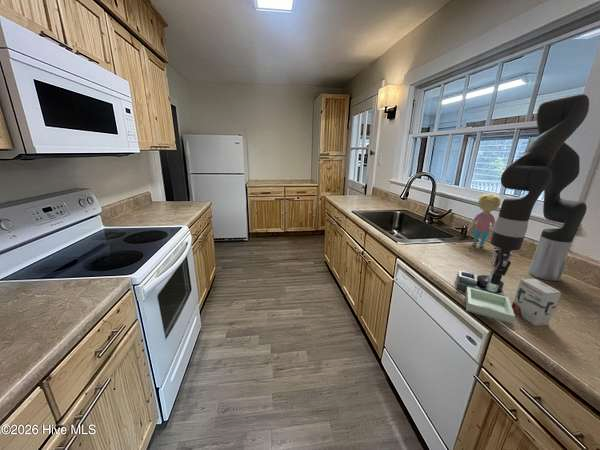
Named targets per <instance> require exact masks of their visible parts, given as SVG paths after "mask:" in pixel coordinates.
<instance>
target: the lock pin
mask: <svg viewBox="0 0 600 450" xmlns="http://www.w3.org/2000/svg"><path fill="white" fill-rule="evenodd" d="M491 262H492V261H491ZM493 263H494V260H493V262H492V263H491V266H492V267H491V268H490V271H489V275H488V276H489V278H488V282H487V285H486V289H487V290H489V291H491V292H497V289H498V286H499V285H495V284H492V283H491V278H492V275H493V270H494V267H495V266H494V265H493ZM496 264H498V263H496ZM499 271H502V270H499Z"/></svg>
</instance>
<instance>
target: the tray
mask: <svg viewBox="0 0 600 450" xmlns="http://www.w3.org/2000/svg"><path fill="white" fill-rule="evenodd" d="M464 293H465V295H464V296H465V312H469V313H472V314H475V315H478V316H483V317H484V318H485V317H486V318H489V319H493V320H497V321H499V322H502V323H506V324H509V325H513V323H514V321H515V317H516V314H515V311H513V309H512V304H511V301H510V299H509V297H508V296H505V295H504V296H502V295H498V294H494V293H490V292H486V291H482V290H478V289H474V288H470V287H467V289H466V292H464Z"/></svg>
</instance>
